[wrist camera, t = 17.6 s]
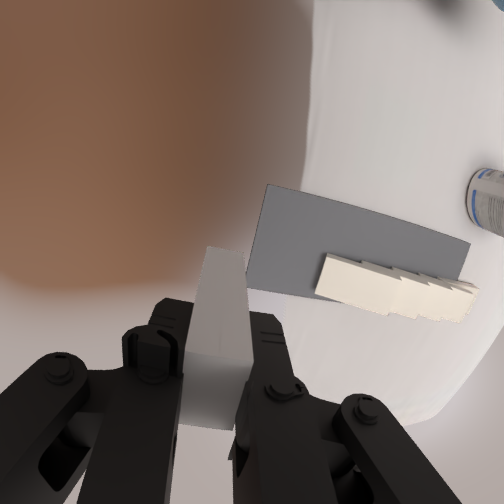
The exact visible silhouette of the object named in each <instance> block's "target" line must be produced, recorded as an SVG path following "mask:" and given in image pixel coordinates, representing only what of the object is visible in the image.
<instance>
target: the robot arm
mask: <svg viewBox="0 0 504 504" xmlns="http://www.w3.org/2000/svg"><path fill="white" fill-rule="evenodd" d="M492 1H493V2H494V3H495V5H496V6H497V7H498V8H499V9H500V10H502V11H503V12H504V0H492ZM122 352H123V367H120V368H117V369H113V370H87V368H86V366H85V364H84V362H83V361H82V360H81V359H79V358H78V357H77V356H75V355H72V354H69V353H66V352H55V353H50V354H47V355H45V356H43V357H42V358H40V359H38V360H37V361H36V362H35V363H34V364H33V365H32V366H30V367H29V369H27V370H26V371H25V372H24V373H23V374H22V375H20V376H19V377H18V378H17V379H16V380H15V381H14V382H13V383H12V384H11V385H10V386H8V387H7V389H5V390H4V391H3V392H2V393H1V394H0V504H63V503H64V502H65V500H66V498H67V497H68V495H69V494H70V493H71V491H72V489H73V488H74V487H75V485H76V484H77V482H78V481H79V479H80V478H81V476H82V475H83V473H84V472H85V470H86V472H85V476H84V479H83V482H82V486H81V489H80V493H79V496H78V500H77V504H169V503H170V493H171V484H172V474H173V466H174V458H175V450H176V442H177V430H178V423H179V424H185V425H191V426H198V427H206V428H213V429H222V430H231V431H232V430H233V427H234V424H235V428H236V429H235V430H236V436H235V439H234V441H233V444H232V447H231V450H230V453H229V457H228V460H232V463H233V504H462V503H461V502H460V500H459V499H458V498H457V497H456V495H455V494H454V493H453V491H452V490H451V489H450V487H449V486H448V485H447V484H446V482H445V481H444V480H443V478H442V477H441V476H440V475H439V473H438V472H437V471H436V469H435V468H434V467H433V466H432V464H431V463H430V462H429V460H428V459H427V458H426V457H425V455H424V454H423V453H422V451H421V450H420V449H419V448H418V447H417V445H416V444H415V443H414V441H413V440H412V439H411V437H410V436H409V435H408V434H407V432H406V431H405V430H404V428H403V427H402V426H401V425H400V423H399V422H398V421H397V420H396V418H395V417H394V416H393V414H392V413H391V412H390V411H389V409H388V408H387V407H386V406H385V405H384V404H383V403H382V402H381V401H380V400H378V399H376V398H374V397H373V396H370V395H366V394H352V395H350V396H348V397H346V398H345V399H344V401H343V402H342V403H341V404H337V403H333V402H329V401H325V400H322V399H319V398H316V397H313V396H312V395H310V394H309V392H308V390H307V388H306V386H305V384H304V383H303V382H301V381H300V380H299V379H298V378H297V377H295V376H294V373H293V369H292V365H291V361H290V357H289V353H288V349H287V345H286V341H285V337H284V333H283V329H282V325H281V323H280V322H279V321H278V320H277V318H276V317H275V316H274V315H273V314H267V313H260V312H252V311H249V305H248V295H247V283H246V272H245V261H244V253H243V252H238V251H233V250H227V249H221V248H216V247H210V246H207V250H206V254H205V259H204V263H203V267H202V271H201V276H200V280H199V285H198V289H197V294H196V298H195V303H192V302H186V301H181V300H175V299H170V298H164V299H163V300H162V301H160V302H159V303H157V304H156V305H155V308H154V310H153V312H152V316H151V318H150V320H149V322H148V325H143V326H136V327H134V328H132V329H130V330H128V331H127V332H126V333H125V334H124V335H123V337H122Z"/></svg>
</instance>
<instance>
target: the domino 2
mask: <svg viewBox="0 0 504 504" xmlns="http://www.w3.org/2000/svg"><path fill="white" fill-rule="evenodd" d="M361 264H364V265H367V266H370V267H373V268H377V269H380V270H383V271H386V272H389V273H392V274H395V275H398V276H400V277H401V279H402V283H401V285H400V288H399V290H398V293H397V295H396V297H395V300H394V302H393V304H392V307H391V309H390V312H393V313H397V314H400V315H403V316H407V317H410V318H413V319H416V318H417V315H418V313H419V311H420V309H421V307H422V305H423V302H424V300H425V298H426V295H427V293H428V291H429V288H430V285H429V284H428V282H427V281H424V280H421V279H418V278H415V277H412V276H409V275H406V274H403V273H400V272H397V271H394V270H391V269H388V268H385V267H382V266H379V265H375V264H372V263H369V262H366V261H363V260H362V261H361Z"/></svg>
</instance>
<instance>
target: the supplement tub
mask: <svg viewBox="0 0 504 504" xmlns="http://www.w3.org/2000/svg"><path fill="white" fill-rule="evenodd" d="M467 207H468V212H469V215H470V217H471V219H472V221H473V222H474V223H475V224H476V225H477V226H479V227H481V228H483V229H486V230H488V231H490V232H493V233H495V234H497V235H499V236H502V237H504V172H503V171H498V170H493V169H487V168H486V169H482V170H480V171H478V172H477V173H476V174H475V175H474V177H473V178H472V180H471V183H470V185H469V189H468V196H467Z"/></svg>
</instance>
